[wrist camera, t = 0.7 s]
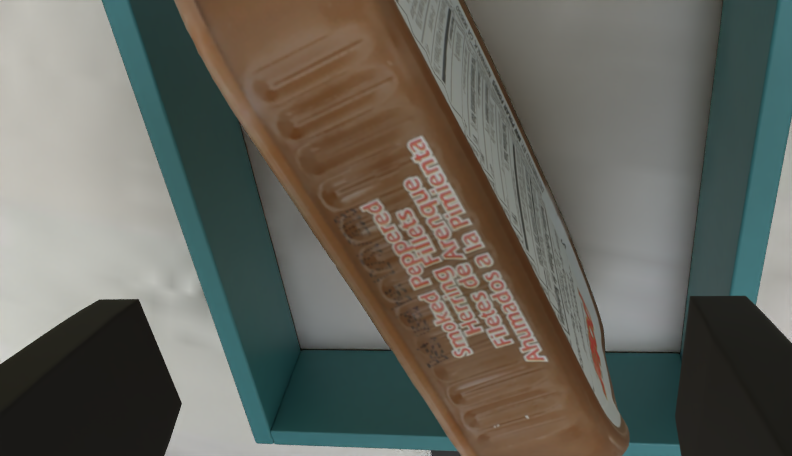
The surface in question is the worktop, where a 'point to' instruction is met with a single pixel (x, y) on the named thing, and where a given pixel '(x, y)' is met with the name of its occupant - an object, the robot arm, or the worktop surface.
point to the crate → (380, 370)
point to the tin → (425, 208)
